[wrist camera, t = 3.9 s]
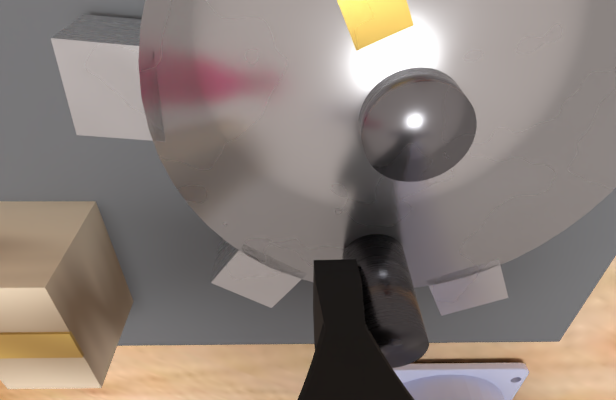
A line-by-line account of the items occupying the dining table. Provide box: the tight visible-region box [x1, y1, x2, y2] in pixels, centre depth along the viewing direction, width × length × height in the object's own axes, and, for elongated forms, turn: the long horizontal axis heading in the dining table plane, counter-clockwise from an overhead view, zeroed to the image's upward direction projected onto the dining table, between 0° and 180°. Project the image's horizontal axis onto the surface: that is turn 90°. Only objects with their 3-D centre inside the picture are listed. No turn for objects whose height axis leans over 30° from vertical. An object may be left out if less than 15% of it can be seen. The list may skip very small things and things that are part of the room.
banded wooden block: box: [0, 201, 133, 389], centre depth 14 cm, size 5×3×4 cm, turn 179°
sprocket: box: [51, 0, 616, 368], centre depth 9 cm, size 16×14×5 cm
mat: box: [0, 0, 616, 346], centre depth 13 cm, size 20×24×1 cm
